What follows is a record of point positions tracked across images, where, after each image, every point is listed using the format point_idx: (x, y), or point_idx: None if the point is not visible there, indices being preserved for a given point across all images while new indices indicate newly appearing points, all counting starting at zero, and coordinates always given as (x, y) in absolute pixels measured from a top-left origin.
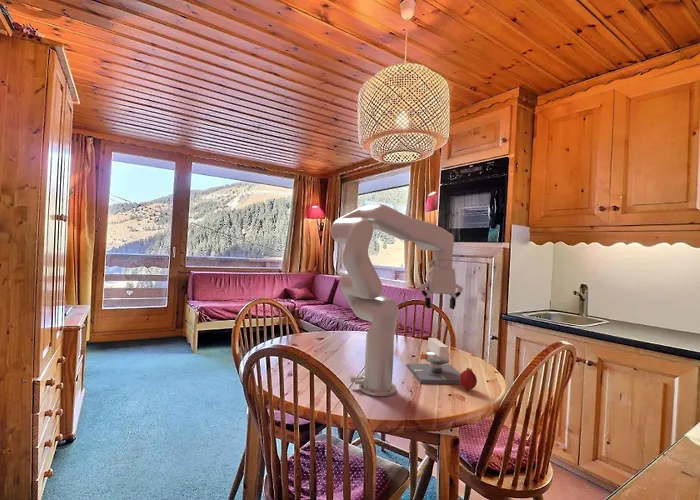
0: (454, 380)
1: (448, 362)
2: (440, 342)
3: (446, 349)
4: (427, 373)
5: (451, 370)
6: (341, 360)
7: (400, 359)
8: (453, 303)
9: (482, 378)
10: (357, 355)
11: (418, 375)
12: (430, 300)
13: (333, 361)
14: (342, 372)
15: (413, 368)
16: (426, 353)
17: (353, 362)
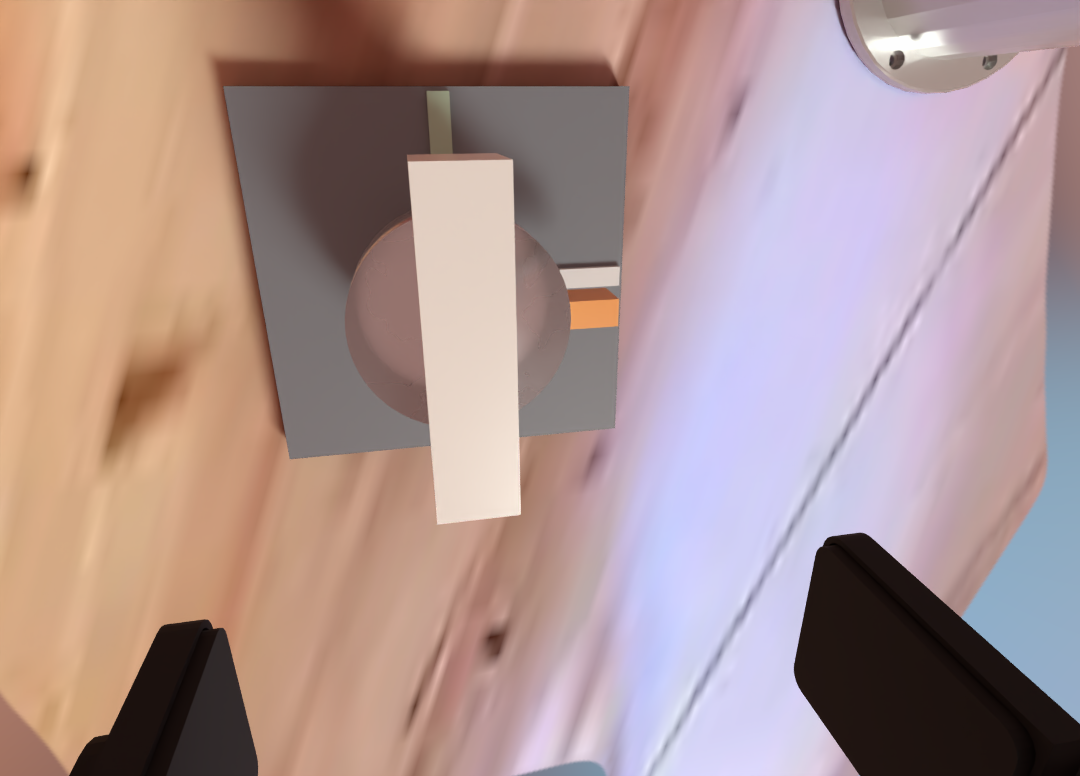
0: (353, 86)
1: (363, 252)
2: (441, 358)
3: (426, 159)
4: (534, 228)
5: (314, 317)
6: (959, 476)
7: (604, 558)
8: (144, 759)
9: (58, 238)
10: None
11: (618, 177)
12: (971, 684)
13: (1007, 452)
14: (1029, 270)
15: (606, 328)
16: (568, 306)
17: (907, 453)
